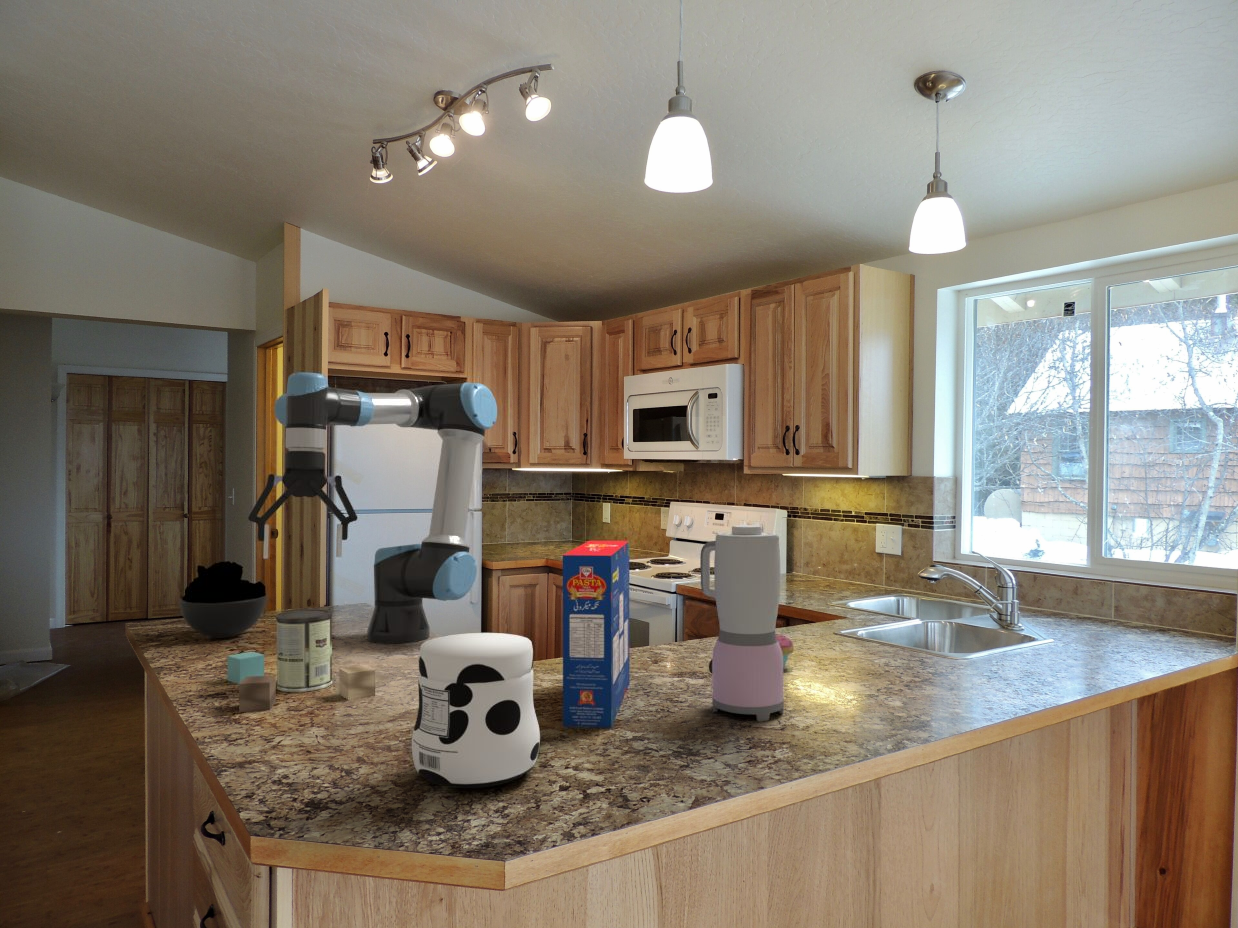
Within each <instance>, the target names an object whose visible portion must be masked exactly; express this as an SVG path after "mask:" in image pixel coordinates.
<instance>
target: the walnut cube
mask: <svg viewBox="0 0 1238 928" xmlns="http://www.w3.org/2000/svg"><path fill="white" fill-rule="evenodd" d="M276 690H277V674H276V675H264V676H252V677H245V678H244V679H243V680H242V681H241V682H240V683H239V684H238V713H249V712H266V711H265V710H270V709H271V710H272V709H273V707H274V706H273V705H275V704H276V701H277V700H276V699H277V698H276V697H277V696H276V693H277V692H276ZM271 710H270V711H271Z"/></svg>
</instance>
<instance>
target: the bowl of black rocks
mask: <svg viewBox="0 0 1238 928" xmlns="http://www.w3.org/2000/svg"><path fill="white" fill-rule="evenodd" d="M196 568H197V569H196V571H197V576H198V577H195V578H194V579H193V580H192V582H190V583H189V586H186V587H185V589H184V595H183V597H182V598H180V599H179V601H178V605H179V606H178V607H179V609H180V613H181V615H182V617H183V619H184V621H185V623H187V624H188V626H189V627H190V628H192V629H193V630H194V631H195V632H198V633H199V634H201V635H204V636H206V637H209V638H210V637H211V638H214V639H225V638H231V637H235V636H239V635H240V634H242V633H244V632H246V631H248V630H249V629H250V628H252V627H253V626H254V625H255V624H256V623H257V622H258V621H259V619H260V618H261V617H262V615H263V613H264V611H265V609H266V606H267V601H268V594H267V593H266V591H267V590H266V586H265V584H264V583H263V582H262V581H259V580H258V581H256V582H254V583H253V582H251V581H249V580H248V579H242V578H243V577H242V576H243V573H244V570H243V568H244V566H242V565H241V564H238V563H236V562H235V561H232V562H231V560H226V561H219V562H215V563H213V564H212V565H210V566H208V567H207V568H206V567H205V566H204V565H197V567H196Z"/></svg>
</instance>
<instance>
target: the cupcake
mask: <svg viewBox="0 0 1238 928" xmlns="http://www.w3.org/2000/svg"><path fill="white" fill-rule="evenodd" d="M775 634H776V638H777V641H778V643H779V645H780V647H781V650H782V654H783V670H784V669H785V668H786V663H787V661H788V658H789V655H791V654H793V652H794V650H795V649H794V642H793V641H792V640H791V639H790V638H788V637H787V636H785V635H783V634H778V633H775Z"/></svg>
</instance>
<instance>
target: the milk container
mask: <svg viewBox="0 0 1238 928" xmlns="http://www.w3.org/2000/svg"><path fill="white" fill-rule="evenodd" d="M534 663H535V662H534V649H533V644H532V641H531V640H530V639H529V638H528V637H526V636H522V635H520V634H519V635H518V634H511V633H500V632H499V633H498V632H471V633H470V632H469V633H459V634H451V635H445V636H439V637H436V638H435V637H434V638H432V639H428V640H426V641H424V642H423V643H422V644H420V648H419V656H418V672H419V673H418V677H417V682H418V709H417V711H418V712H417V715H416V716H417V717H416V720H415V724H414V727H413V730H412V731H413V732H412V737H411V754H412V759H413V766H414V767H415V770H416V772H417V774H418V775H419V776H421V777H422V778H424V779H425V780H426V781H427V782H430V783H431V784H434V785H438V786H442V787H445V788H457V789H477V788H488V787H494V786H499V785H504V784H507V783H509V782H512V781H515V780H518V779H520V778H521V777H523V776H524V775H526V773H528V772H529V771H530V770H532V769H533V768H534V766H535V764H536V761H537V760H538V756H539V752H540V750H539V749H540V743H541V734H540V726H539V722H538V718H537V715H536V709H535V707H534V706H535V705H534Z"/></svg>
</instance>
